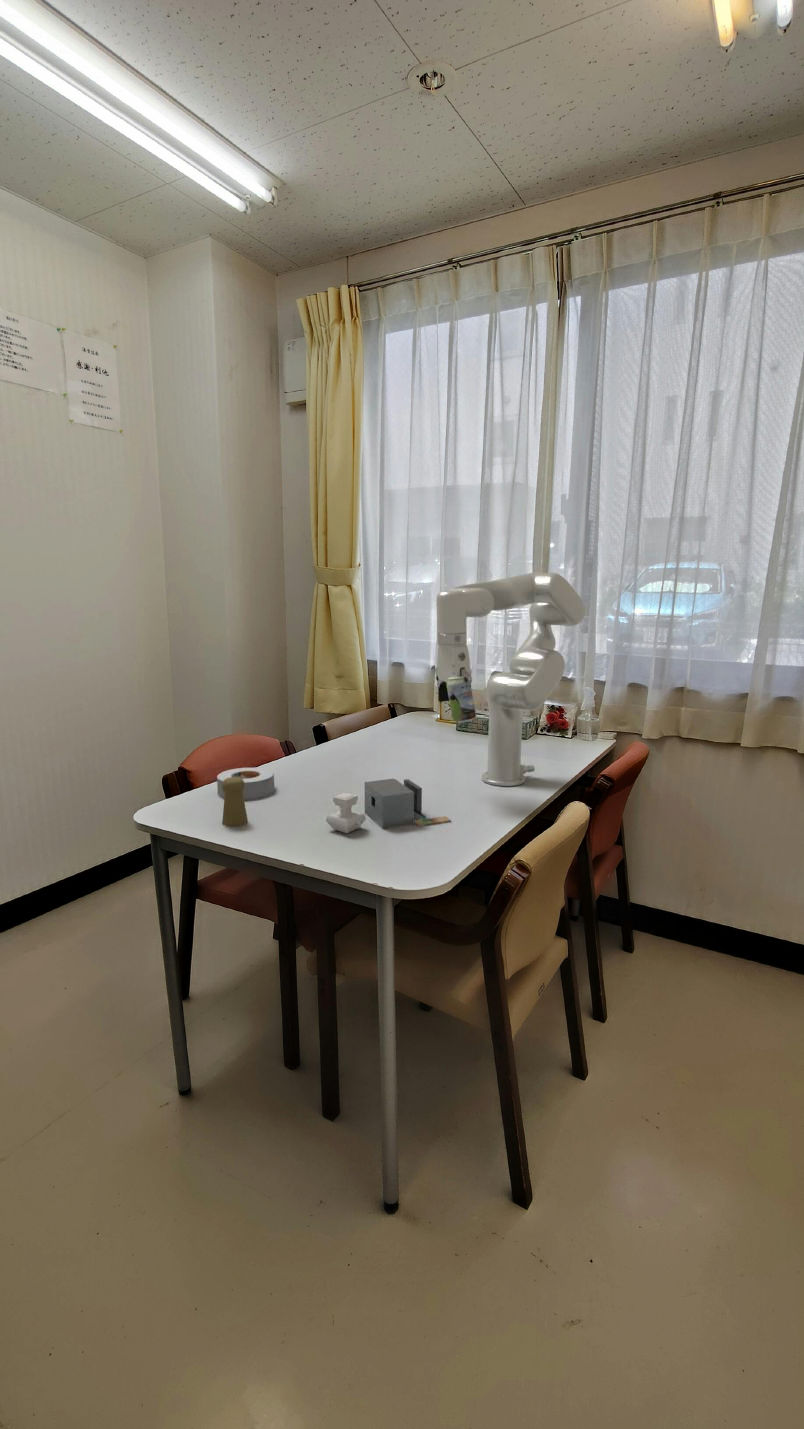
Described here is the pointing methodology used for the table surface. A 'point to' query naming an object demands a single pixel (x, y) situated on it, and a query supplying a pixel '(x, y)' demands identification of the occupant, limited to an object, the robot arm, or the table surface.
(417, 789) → the plunger
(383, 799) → the block
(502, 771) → the robot arm
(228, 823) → the cork
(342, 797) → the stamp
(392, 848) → the table surface
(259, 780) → the tape roll
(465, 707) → the beverage can
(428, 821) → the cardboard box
